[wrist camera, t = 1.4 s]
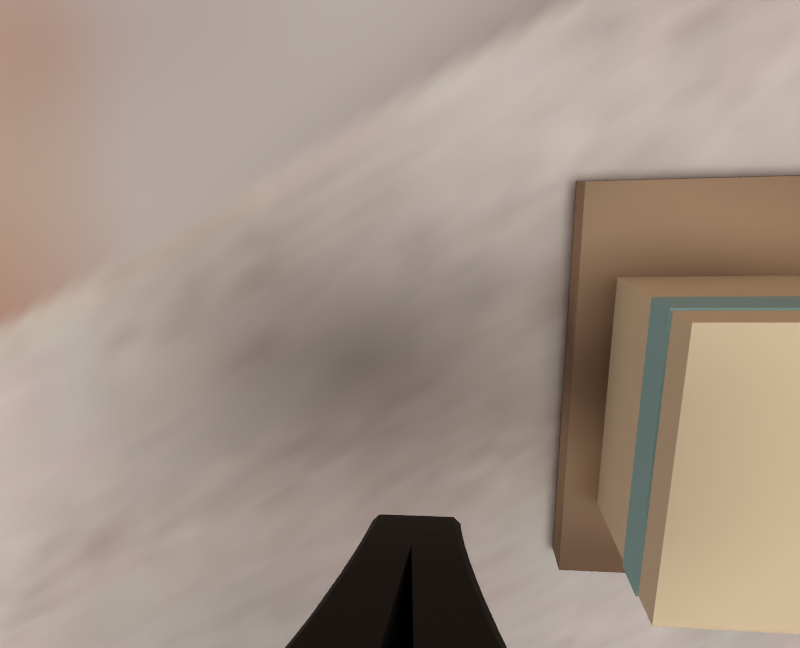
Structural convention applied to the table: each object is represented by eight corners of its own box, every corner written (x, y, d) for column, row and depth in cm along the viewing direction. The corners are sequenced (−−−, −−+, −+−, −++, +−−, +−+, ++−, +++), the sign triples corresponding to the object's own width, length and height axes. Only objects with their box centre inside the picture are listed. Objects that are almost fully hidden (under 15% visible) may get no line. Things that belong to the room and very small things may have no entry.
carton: (846, 512, 15) (1003, 646, 11) (595, 504, 16) (649, 627, 11) (904, 272, 13) (1124, 319, 9) (615, 275, 14) (689, 320, 10)
